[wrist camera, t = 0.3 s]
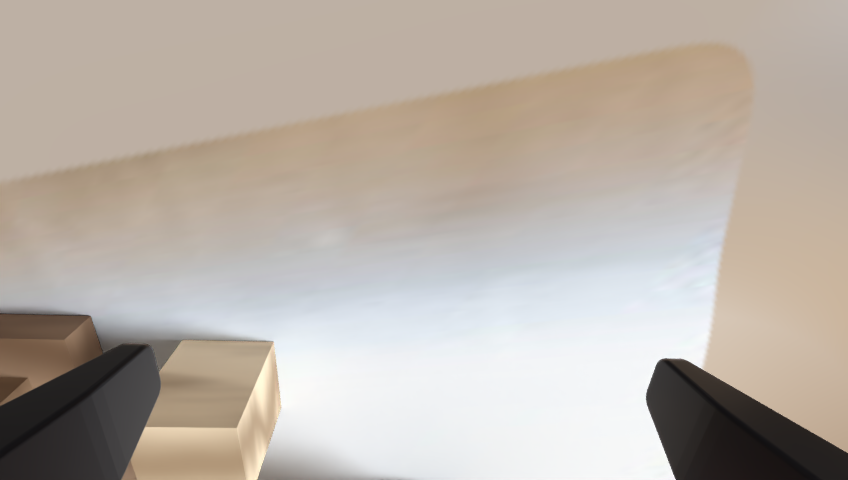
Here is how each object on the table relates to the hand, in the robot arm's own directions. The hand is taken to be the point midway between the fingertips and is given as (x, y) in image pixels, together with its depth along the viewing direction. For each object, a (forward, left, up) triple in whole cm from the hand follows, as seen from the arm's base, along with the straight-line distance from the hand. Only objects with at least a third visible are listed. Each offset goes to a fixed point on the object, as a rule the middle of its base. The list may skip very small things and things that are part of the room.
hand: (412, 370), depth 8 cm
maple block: (-13, +10, -14) cm, 22 cm away
